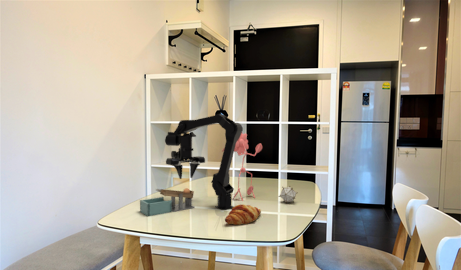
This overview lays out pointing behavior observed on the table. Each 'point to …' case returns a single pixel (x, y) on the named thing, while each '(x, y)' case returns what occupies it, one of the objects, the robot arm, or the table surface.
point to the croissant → (242, 214)
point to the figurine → (241, 148)
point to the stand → (181, 204)
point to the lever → (175, 193)
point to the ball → (186, 190)
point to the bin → (155, 206)
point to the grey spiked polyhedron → (288, 194)
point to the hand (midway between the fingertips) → (185, 178)
